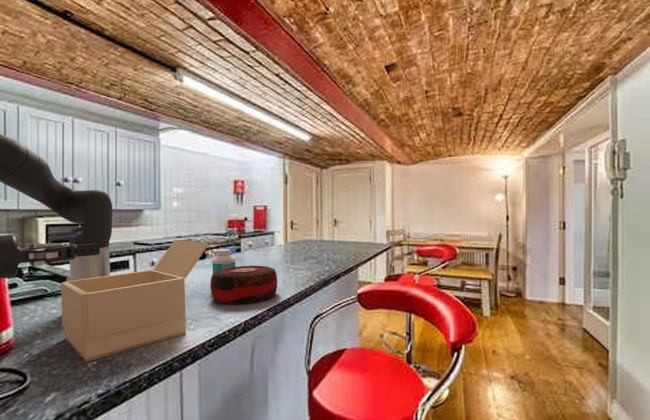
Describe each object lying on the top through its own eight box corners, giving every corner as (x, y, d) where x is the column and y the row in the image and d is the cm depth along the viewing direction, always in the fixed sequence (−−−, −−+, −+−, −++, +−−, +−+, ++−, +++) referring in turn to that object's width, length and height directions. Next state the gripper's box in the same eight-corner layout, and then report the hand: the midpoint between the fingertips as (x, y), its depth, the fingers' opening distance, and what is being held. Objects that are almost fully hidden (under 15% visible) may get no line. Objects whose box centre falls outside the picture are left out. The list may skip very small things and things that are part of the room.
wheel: (268, 306, 95) (284, 289, 115) (267, 275, 95) (283, 264, 115) (198, 306, 97) (226, 290, 116) (197, 276, 97) (225, 265, 117)
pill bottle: (223, 293, 111) (222, 251, 111) (208, 291, 115) (207, 250, 115) (240, 288, 117) (239, 249, 117) (225, 286, 121) (224, 248, 121)
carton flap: (206, 242, 78) (209, 243, 79) (175, 239, 90) (177, 241, 91) (183, 277, 74) (186, 278, 75) (153, 269, 86) (155, 271, 87)
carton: (83, 363, 60) (81, 295, 60) (61, 338, 73) (60, 282, 73) (187, 334, 74) (185, 278, 74) (153, 317, 87) (151, 269, 87)
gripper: (-21, 237, 53) (108, 231, 66) (-24, 235, 62) (90, 230, 75) (-20, 286, 53) (108, 270, 66) (-23, 277, 62) (90, 264, 75)
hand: (98, 249), depth 70 cm, fingers closed
